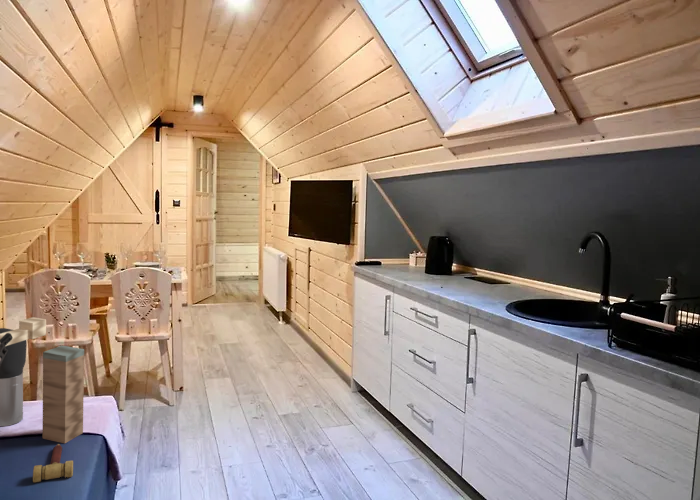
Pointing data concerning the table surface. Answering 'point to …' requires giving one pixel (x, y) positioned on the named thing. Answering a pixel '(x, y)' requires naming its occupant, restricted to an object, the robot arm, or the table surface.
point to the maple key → (27, 330)
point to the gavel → (53, 467)
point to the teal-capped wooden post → (63, 393)
